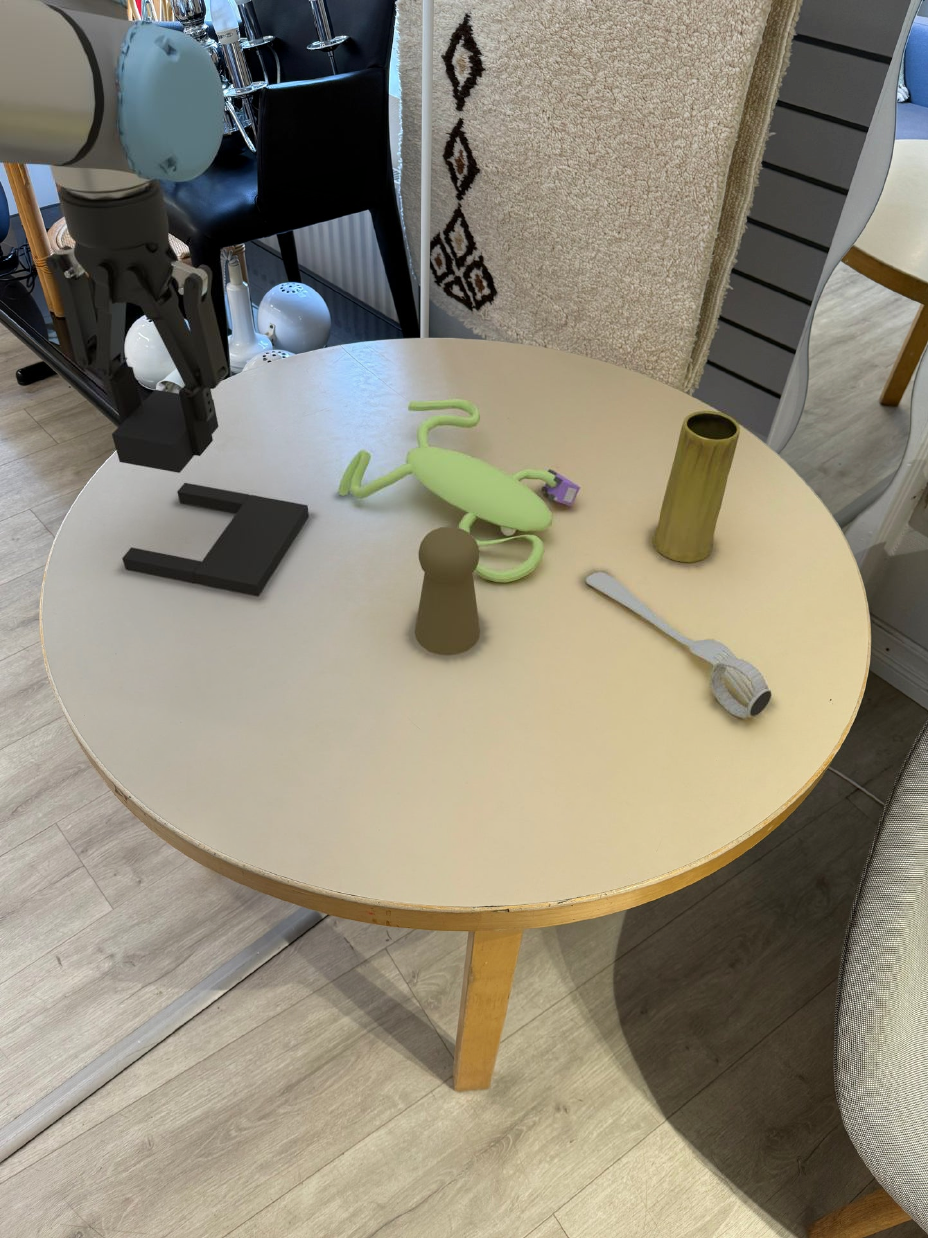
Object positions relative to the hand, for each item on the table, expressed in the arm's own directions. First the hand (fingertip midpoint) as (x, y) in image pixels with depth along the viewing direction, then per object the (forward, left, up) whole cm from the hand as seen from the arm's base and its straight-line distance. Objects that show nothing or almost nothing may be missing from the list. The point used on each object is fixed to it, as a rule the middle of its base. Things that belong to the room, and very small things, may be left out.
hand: (169, 441), depth 85 cm
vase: (+49, +13, -11) cm, 52 cm away
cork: (+29, -6, -11) cm, 32 cm away
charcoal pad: (0, 0, 0) cm, 0 cm away
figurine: (+25, +14, -11) cm, 31 cm away
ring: (+55, -8, -11) cm, 56 cm away
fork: (+49, -1, -11) cm, 50 cm away
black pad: (+4, 0, -11) cm, 12 cm away
